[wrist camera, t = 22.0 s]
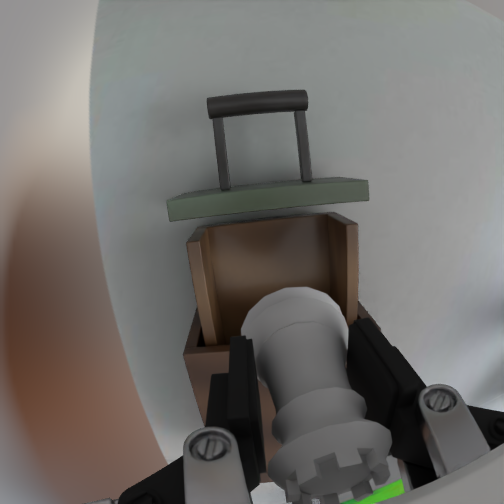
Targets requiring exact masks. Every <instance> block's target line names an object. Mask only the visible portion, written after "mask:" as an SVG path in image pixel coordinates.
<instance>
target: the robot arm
mask: <svg viewBox="0 0 504 504" xmlns="http://www.w3.org/2000/svg"><path fill="white" fill-rule="evenodd" d="M346 372H347V376H348V380H349V384H350V386H351V389H352V390H354V391H355V392H356V393H358V394H359V395H361V396H362V397H363V398H364V400H365V403H366V406H367V412H366V415H365V418H364V419H366V420H370V421H373V422H377V423H379V424H381V425H382V426H384V427H385V428H387V429H388V430H390V432H391V438H392V445H391V448H390V450H389V453H388V456H390V455H392V457H394V458H397V464H398V467H399V471H400V475H401V479H402V483H403V487H404V491H405V493H403V494H401V495H398V496H395V497H392V498H389V499H386V500H383V501H380V502H377V503H374V504H504V412H500V411H494V410H489V409H483V408H478V407H473V406H469V405H466V404H465V402H464V400H463V399H462V397H461V395H460V394H459V393H458V391H457V390H456V389H454V388H453V387H451V386H448V385H444V384H434V385H430V386H428V387H427V386H426V385H425V384H424V382H423V381H422V380H421V378H420V377H419V376H418V374H417V373H416V372H415V371H414V369H413V368H412V367H411V365H410V364H409V363H408V361H407V360H406V359H405V358H404V356H403V355H402V354H401V352H400V351H399V350H398V349H397V348H396V347H394V346H392V345H391V344H390V343H389V342H388V340H387V339H386V338H385V336H384V335H383V334H382V333H381V331H380V330H379V329H378V328H377V326H376V325H375V324H374V323H373V321H372V320H371V319H370V318H369V317H367V318H362V319H356V320H354V322H353V324H350V325H349V330H348V349H347V364H346ZM260 473H267V469H266V458H265V447H264V436H263V425H262V414H261V403H260V394H259V386H258V379H257V371H256V364H255V356H254V348H253V341H252V339H246V335H243V336H233V337H230V352H229V373H218V374H212V375H211V381H210V389H209V397H208V406H207V414H206V423H205V427H204V428H200V429H198V430H196V431H194V432H192V433H191V434H190V435H189V436H188V437H187V438H186V440H185V442H184V446H183V456H181V457H180V458H178V459H177V460H175V461H174V462H172V463H170V464H169V465H167V466H166V467H164V468H162V469H161V470H159V471H157V472H156V473H154V474H152V475H151V476H149V477H147V478H146V479H144V480H142V481H141V482H139V483H137V484H135V485H133V486H132V487H130V488H128V489H127V490H125V491H124V492H123V493H122V494H121V496H120V497H119V499H116V500H112V499H110V498H107V499H103V500H99V501H94V502H90V503H84V504H253V501H252V497H251V493H250V492H251V491H252V490H254V489H255V488H256V487H257V486H258V485H259V482H261V475H260Z"/></svg>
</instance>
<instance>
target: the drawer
mask: <svg viewBox="0 0 504 504" xmlns="http://www.w3.org/2000/svg"><path fill="white" fill-rule="evenodd" d="M207 109H208V115H209V119H213V128H214V137H215V146H216V155H217V164H218V172H219V181H220V188H217V189H209V190H201V191H194V192H187V193H183V194H181V195H178V196H176V197H174V198H172V199H169V200H167V209H168V215H169V221H170V222H172V221H179V220H186V219H194V218H202V217H210V216H218V215H226V214H234V213H243V212H252V211H261V210H270V209H280V208H290V207H300V206H311V205H322V204H334V203H346V202H359V201H369V185H368V180H362V179H353V178H344V177H331V178H316V179H312V173H311V162H310V152H309V143H308V134H307V125H306V117H305V111H307V109H308V96H307V92H306V91H305V90H283V91H266V92H254V93H243V94H234V95H225V96H217V97H210V98H207ZM293 111H295V112H294V117H295V126H296V135H297V144H298V153H299V163H300V173H301V180H291V181H280V182H270V183H260V184H250V185H241V186H233V187H231V186H230V178H229V169H228V160H227V151H226V142H225V133H224V124H223V118H224V117H233V116H242V115H252V114H263V113H276V112H293ZM186 246H187V252H188V258H189V264H190V269H191V275H192V281H193V286H194V291H195V297H196V302H197V307H198V312H199V317H200V322H201V327H202V332H203V336H204V341H205V346H206V347H207V346H220V345H230V337H233V336H241V328H242V326H243V323H244V321H245V319H246V316H247V314H248V312H249V311H250V310H251V309H252V308H253V307H254V306H255V305H256V304H257V303H258V302H259V301H260V300H261V299H262V298H263V297H264V296H267V295H269V294H272V293H274V292H276V291H279V290H281V289H283V288H292V287H309V288H312V289H315V290H318V291H321V292H323V293H326V294H327V295H328V296H329V297H330V298H331V299H332V300H333V301H334V302H335V303H336V304H337V305H339V307H340V310H341V313H342V315H343V316H344V318H345V321H346V324H347V327H348V329H349V325H350V324H353V322H354V320H356V319H357V310H358V269H359V252H358V224H357V223H355V222H353V221H351V220H349V219H347V218H345V217H343V216H341V215H339V214H337V213H335V212H327V213H316V214H306V215H296V216H286V217H276V218H267V219H258V220H249V221H240V222H231V223H223V224H215V225H207V226H199V227H197V228H196V230H195V231H194V233H193V234H192V235H191V237H190V238H189V239H188V241H187V242H186Z"/></svg>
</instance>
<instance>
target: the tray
mask: <svg viewBox="0 0 504 504" xmlns="http://www.w3.org/2000/svg"><path fill="white" fill-rule="evenodd" d="M386 460H387V463H388V465H389V467H388V469H389V471H390V474H391V475H390V477H389V478H388V480H387V482H386V483H385V484H382V485H377V486H375V483H374V480H373V478H372V479H371V480H370V481H369V482H370V485H371V488H372V490H373V493H374V494H372V495H370V496H368V497H366V498H365V499H363V500H361V501H359V502H357V501H356V500H354V497H353V494H352V491H349V492H346V493H343V494H340V495H338V498H339V502H340V504H374V503H377V502H380V501H383V500H386V499H389V498H392V497H395V496H398V495H401V494H403V493H405V491H404V487H403V483H402V479H401V475H400V471H399V467H398V464H397V458H394V457H392V455H390V456H387V458H386Z"/></svg>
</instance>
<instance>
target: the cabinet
mask: <svg viewBox="0 0 504 504" xmlns="http://www.w3.org/2000/svg"><path fill="white" fill-rule="evenodd" d="M367 317H369V318H370V319H371V320H372V321H373V323H374V324H375V325H376V326H377V328H378V329H379V330H380V331H381V328H380V327H379V326H378V325H377V324H376V322H375V321H374V319H373V318H372V317H371V316H370V314H369V313H368V312H367V311H366V310H365V308H364V307H363V306H362V305H361V304H360V302H359V301H358V310H357V319H362V318H367ZM348 330H349V329H348ZM229 352H230V345H220V346H207V347H206V346H205V341H204V336H203V332H202V327H201V322H200V317H199V312H198V307H197V308H196V312H195V315H194V318H193V322H192V325H191V329H190V332H189V336H188V339H187V342H186V346H185V350H184V353H183V356H184V360H185V364H186V367H187V371H188V374H189V378H190V381H191V385H192V388H193V391H194V395H195V398H196V401H197V404H198V408H199V411H200V414H201V417H202V420H203V423H204V426H205V423H206V414H207V406H208V397H209V389H210V381H211V375H212V374H218V373H229ZM346 364H347V359H346ZM345 368H346V365H345ZM258 386H259V394H260V403H261V414H262V425H263V436H264V447H265V458H266V469H267V473H260V475H261V482H259V483H266V482H273V481H272V479H271V478H270V477H269V476H268V462H269V461H270V460H271V459H272V458H273V456H274V455H275V454H276V453H277V451H278V450H279V449H280V448H281V446H282V444H280V443H278V442H277V440H276V439H275V437H274V436H273V435H272V421H273V419H274V418H275V416H276V409H275V406H274V403H273V400H272V398H271V395H270V392H269V389H268V388H267V387H265V386H264V385H263V384H262V383H261V381H259V380H258Z"/></svg>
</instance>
